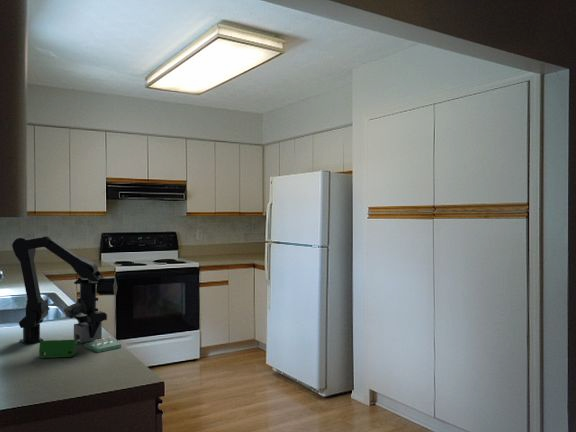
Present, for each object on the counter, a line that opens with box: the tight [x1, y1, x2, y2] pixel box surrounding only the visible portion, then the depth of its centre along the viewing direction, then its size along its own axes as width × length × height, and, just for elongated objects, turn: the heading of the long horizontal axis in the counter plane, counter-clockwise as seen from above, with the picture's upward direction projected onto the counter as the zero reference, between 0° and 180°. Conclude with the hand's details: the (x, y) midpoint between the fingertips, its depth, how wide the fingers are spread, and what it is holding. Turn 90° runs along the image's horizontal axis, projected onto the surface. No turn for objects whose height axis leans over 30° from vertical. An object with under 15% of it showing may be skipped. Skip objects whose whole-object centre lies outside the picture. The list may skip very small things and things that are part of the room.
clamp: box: [38, 339, 79, 359], centre depth 172 cm, size 12×6×9 cm, turn 95°
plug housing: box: [73, 322, 103, 344], centre depth 190 cm, size 6×8×6 cm
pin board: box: [83, 336, 122, 353], centre depth 183 cm, size 10×9×3 cm
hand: (87, 336), depth 190 cm, fingers closed on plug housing, 6 cm apart
